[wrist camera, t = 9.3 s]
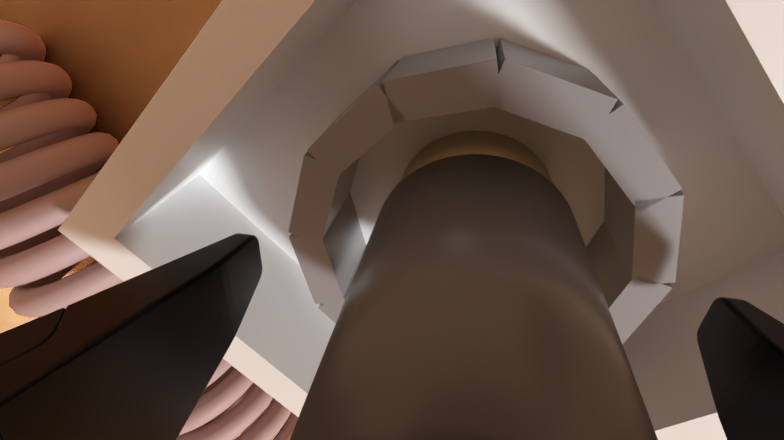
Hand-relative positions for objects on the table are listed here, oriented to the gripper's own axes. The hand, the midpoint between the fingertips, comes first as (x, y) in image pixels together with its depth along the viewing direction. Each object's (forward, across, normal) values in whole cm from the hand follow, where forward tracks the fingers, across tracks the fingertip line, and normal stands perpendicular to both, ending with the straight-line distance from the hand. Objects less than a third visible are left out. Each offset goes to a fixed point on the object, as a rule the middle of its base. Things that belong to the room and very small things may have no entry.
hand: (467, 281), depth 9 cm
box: (+4, 0, 0) cm, 4 cm away
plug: (+3, 0, 0) cm, 3 cm away
